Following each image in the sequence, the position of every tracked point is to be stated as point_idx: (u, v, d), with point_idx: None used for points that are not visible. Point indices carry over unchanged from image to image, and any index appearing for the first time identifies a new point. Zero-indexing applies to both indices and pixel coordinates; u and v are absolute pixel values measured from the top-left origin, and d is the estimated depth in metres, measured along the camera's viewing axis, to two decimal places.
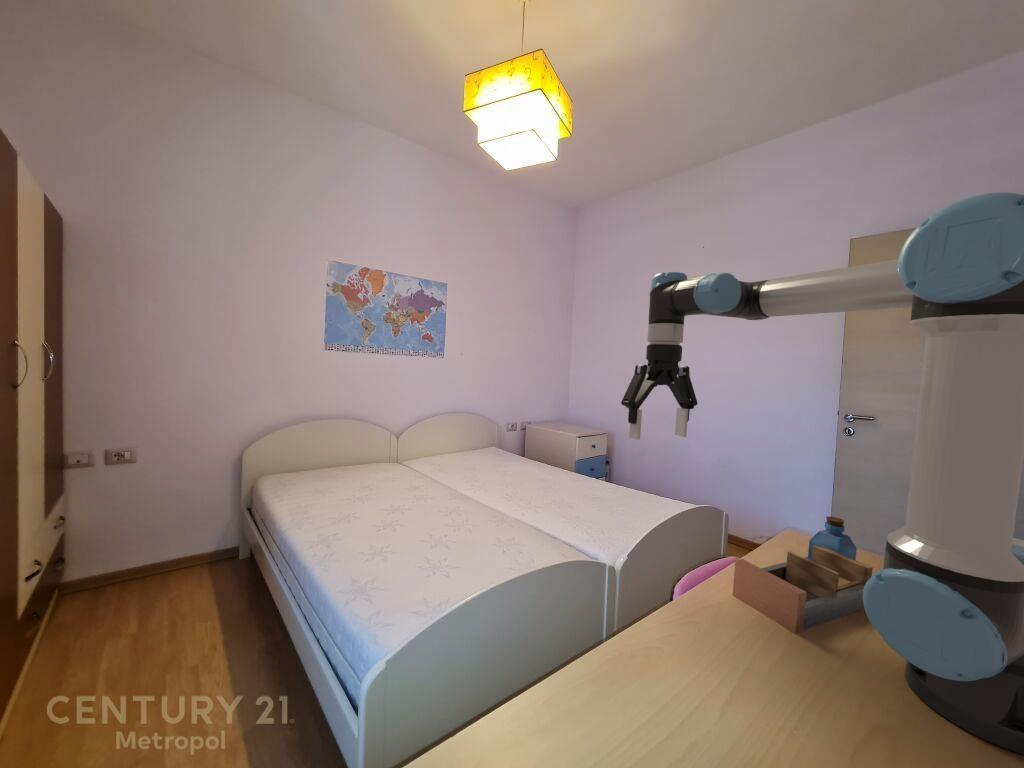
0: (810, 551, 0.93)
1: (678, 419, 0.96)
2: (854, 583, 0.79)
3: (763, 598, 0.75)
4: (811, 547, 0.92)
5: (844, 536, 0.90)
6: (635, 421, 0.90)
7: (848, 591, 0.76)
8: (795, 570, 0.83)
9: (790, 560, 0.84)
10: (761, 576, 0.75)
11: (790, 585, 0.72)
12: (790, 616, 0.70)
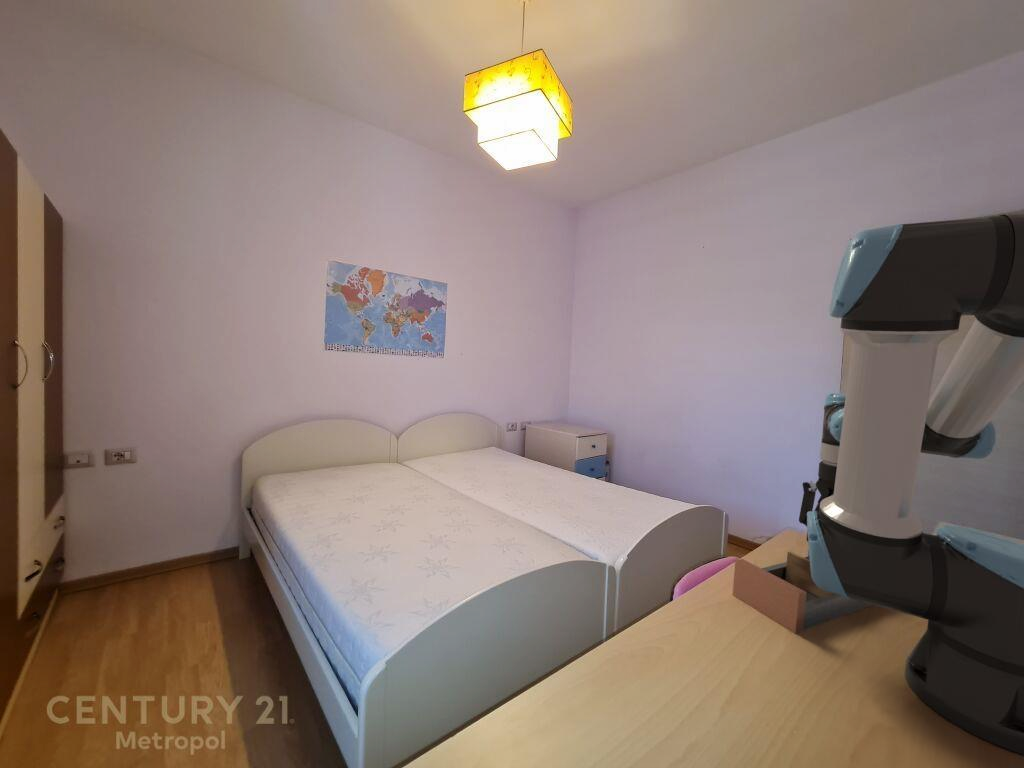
0: None
1: None
2: None
3: (763, 598, 0.75)
4: None
5: None
6: None
7: None
8: (795, 570, 0.83)
9: (790, 560, 0.84)
10: (761, 576, 0.75)
11: (790, 585, 0.72)
12: (790, 616, 0.70)
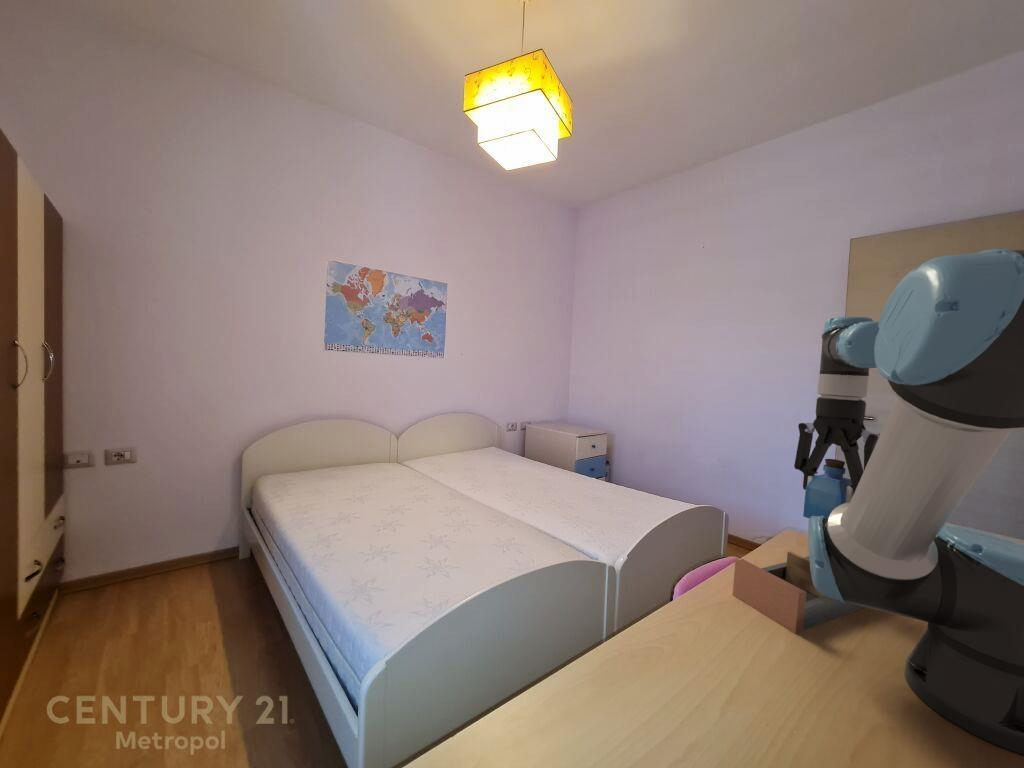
0: (807, 498, 0.82)
1: None
2: None
3: (763, 598, 0.75)
4: (808, 493, 0.82)
5: (845, 479, 0.79)
6: None
7: None
8: (795, 570, 0.83)
9: (790, 560, 0.84)
10: (761, 576, 0.75)
11: (790, 585, 0.72)
12: (790, 616, 0.70)
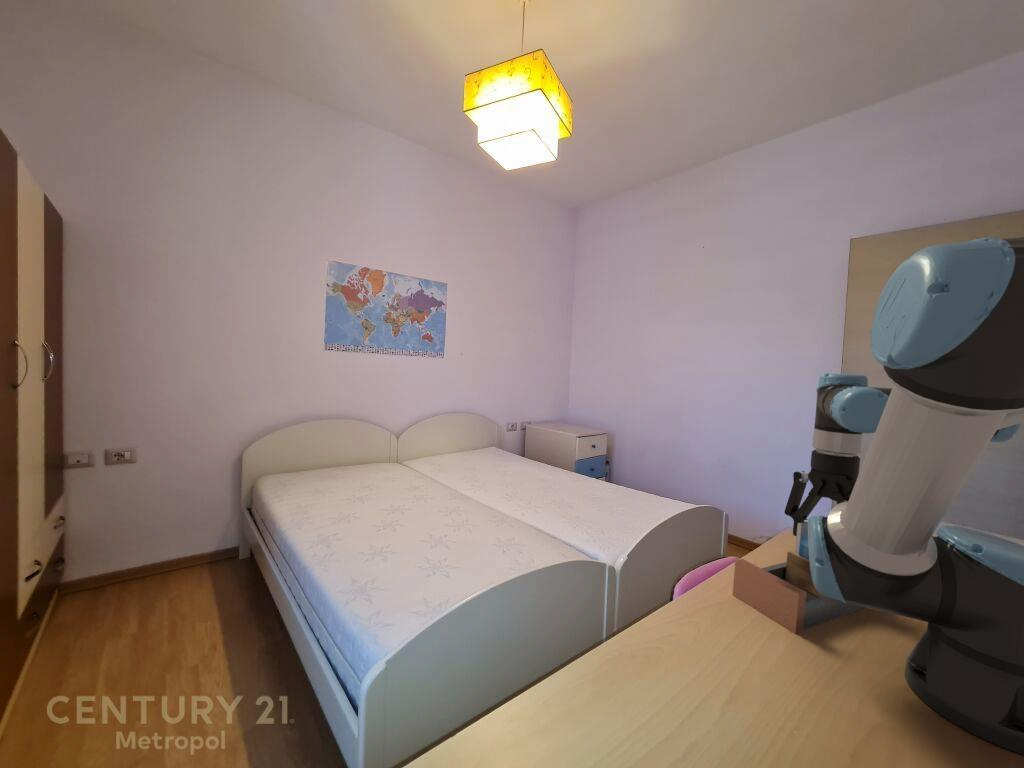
0: (801, 555, 0.83)
1: None
2: None
3: (763, 598, 0.75)
4: (802, 551, 0.83)
5: None
6: None
7: None
8: (795, 570, 0.83)
9: (790, 560, 0.84)
10: (761, 576, 0.75)
11: (790, 585, 0.72)
12: (790, 616, 0.70)
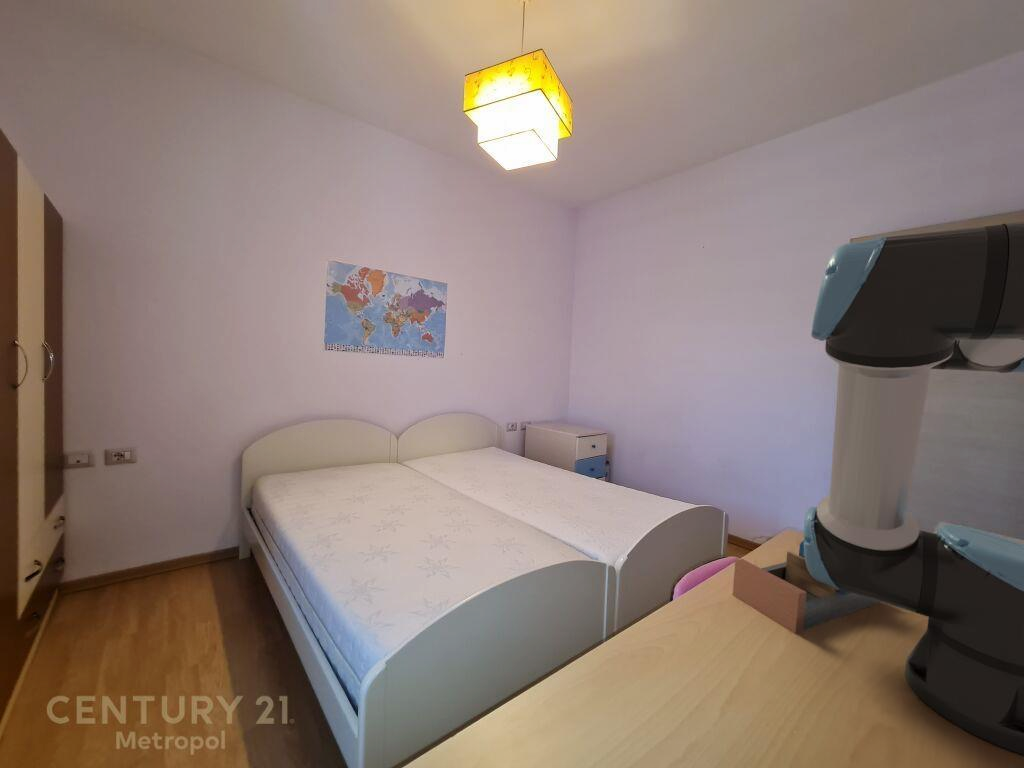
0: (801, 555, 0.83)
1: None
2: None
3: (763, 598, 0.75)
4: (802, 551, 0.83)
5: None
6: None
7: None
8: (795, 570, 0.83)
9: (790, 560, 0.84)
10: (761, 576, 0.75)
11: (790, 585, 0.72)
12: (790, 616, 0.70)
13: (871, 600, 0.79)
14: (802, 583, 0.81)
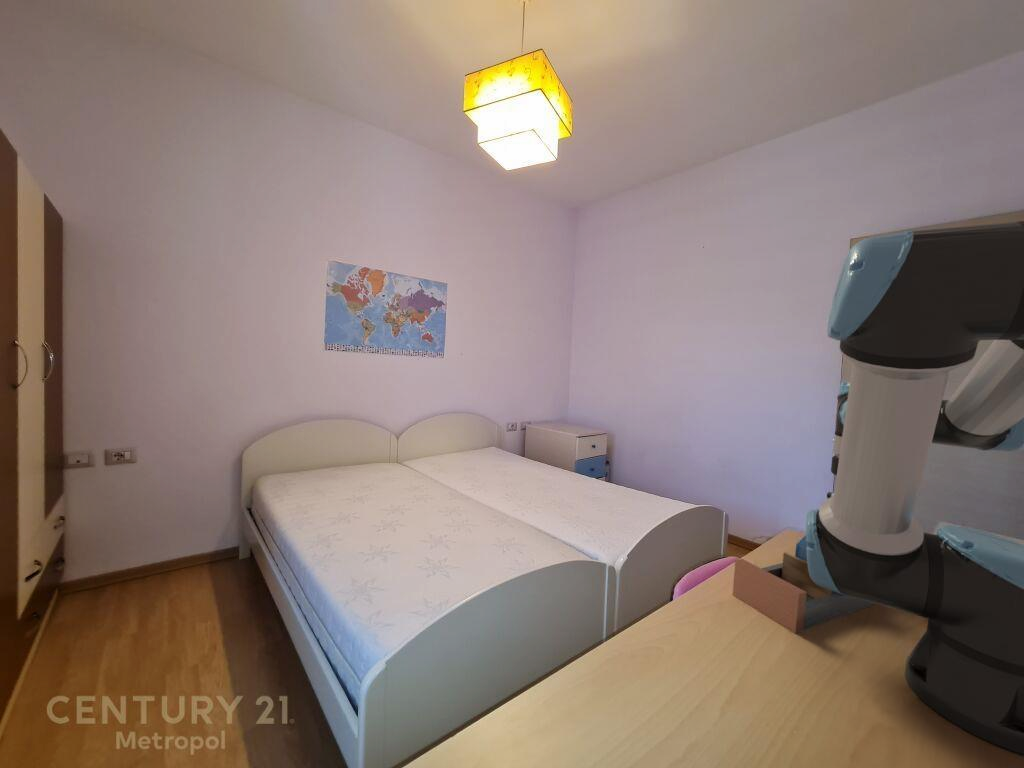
0: (797, 556, 0.82)
1: None
2: None
3: (763, 598, 0.75)
4: (798, 552, 0.82)
5: None
6: None
7: None
8: (791, 571, 0.82)
9: (786, 561, 0.83)
10: (761, 576, 0.75)
11: (790, 585, 0.72)
12: (790, 616, 0.70)
13: None
14: (798, 584, 0.81)
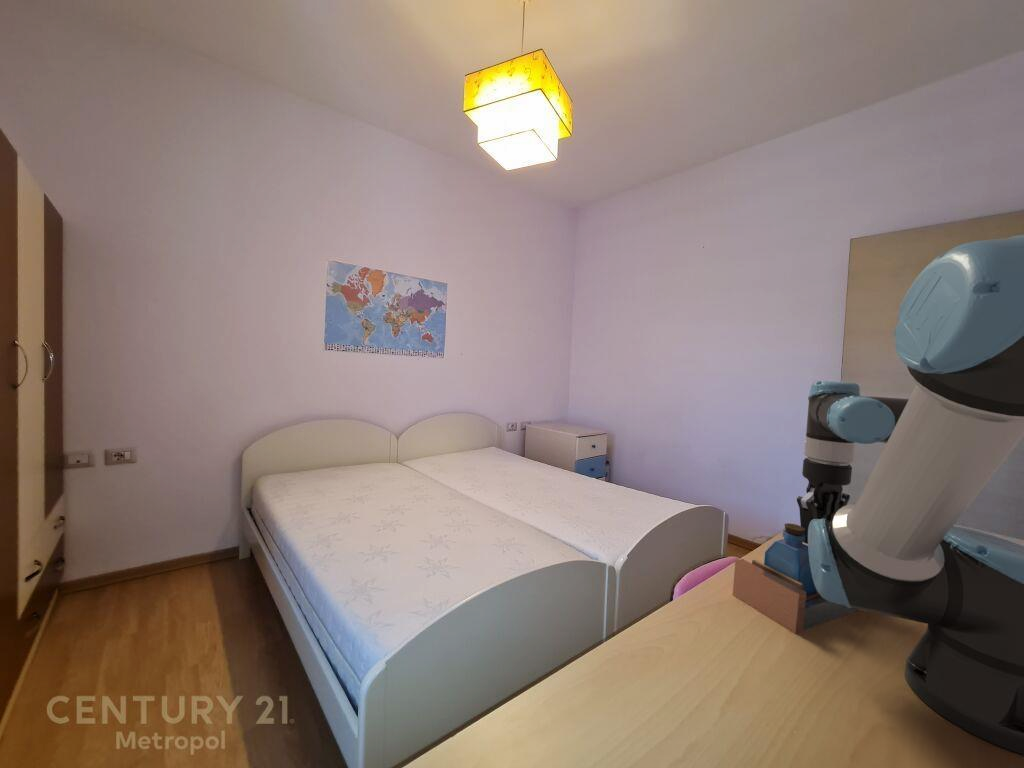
0: (766, 564, 0.79)
1: None
2: None
3: (763, 598, 0.75)
4: (767, 559, 0.78)
5: (804, 547, 0.76)
6: None
7: None
8: None
9: None
10: (761, 576, 0.75)
11: (790, 585, 0.72)
12: (790, 616, 0.70)
13: None
14: None
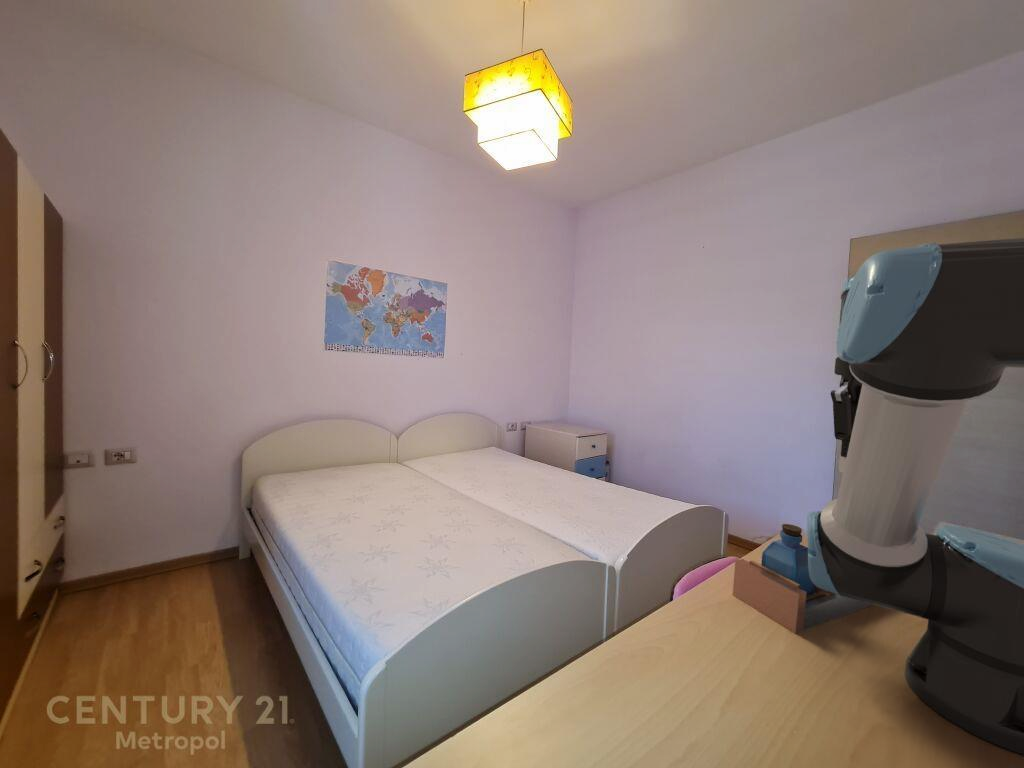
0: (763, 565, 0.78)
1: None
2: (817, 595, 0.74)
3: (763, 598, 0.75)
4: (764, 560, 0.78)
5: (802, 548, 0.76)
6: None
7: None
8: None
9: None
10: (761, 576, 0.75)
11: (790, 585, 0.72)
12: (790, 616, 0.70)
13: None
14: None
